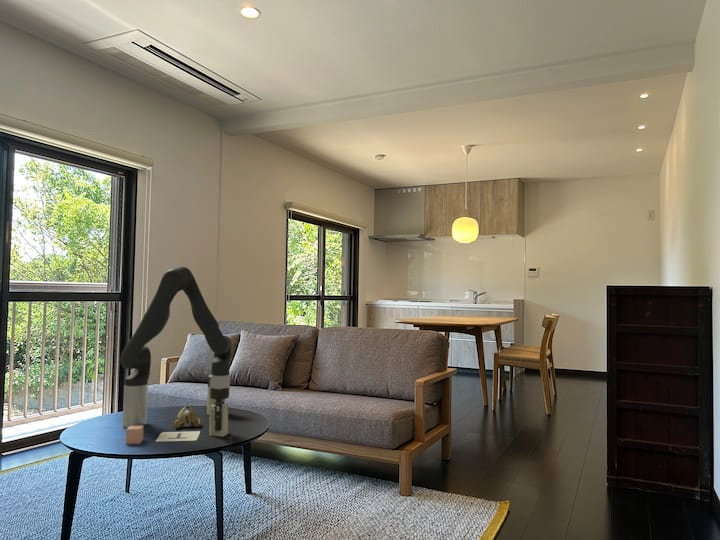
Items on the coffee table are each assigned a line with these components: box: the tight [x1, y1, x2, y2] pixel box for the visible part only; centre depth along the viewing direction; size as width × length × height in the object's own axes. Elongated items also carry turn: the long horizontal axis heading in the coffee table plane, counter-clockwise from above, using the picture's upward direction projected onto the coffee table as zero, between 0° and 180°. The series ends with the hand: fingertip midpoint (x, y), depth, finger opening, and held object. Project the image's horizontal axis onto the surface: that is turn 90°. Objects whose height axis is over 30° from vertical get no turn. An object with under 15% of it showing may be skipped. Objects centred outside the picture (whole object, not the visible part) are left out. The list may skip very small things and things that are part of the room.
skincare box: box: [208, 404, 229, 437], centre depth 210 cm, size 6×4×12 cm
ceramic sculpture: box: [173, 405, 201, 429], centre depth 224 cm, size 11×9×15 cm
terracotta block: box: [125, 425, 144, 445], centre depth 198 cm, size 5×5×6 cm
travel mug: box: [206, 374, 226, 416], centre depth 246 cm, size 8×8×18 cm
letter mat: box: [154, 430, 201, 443], centre depth 207 cm, size 13×15×1 cm
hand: (218, 428), depth 210 cm, fingers closed on skincare box, 5 cm apart
